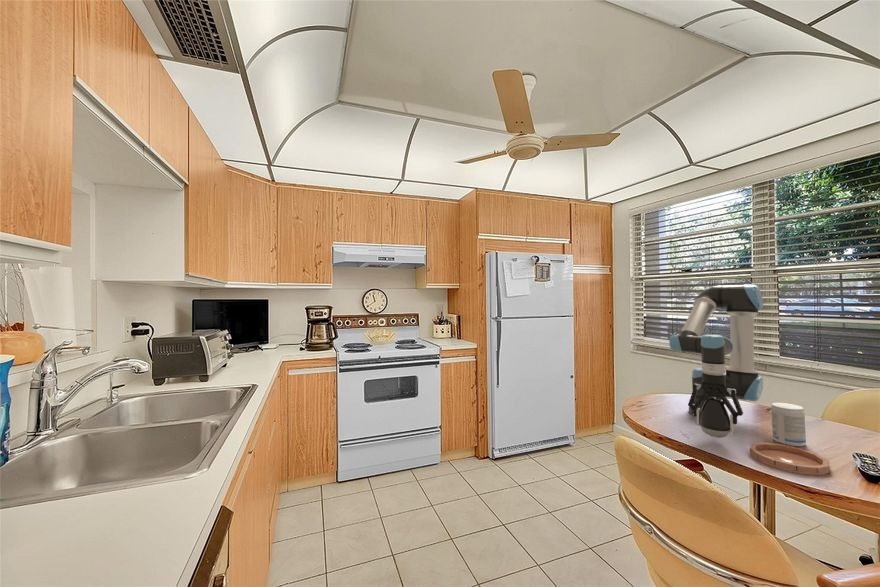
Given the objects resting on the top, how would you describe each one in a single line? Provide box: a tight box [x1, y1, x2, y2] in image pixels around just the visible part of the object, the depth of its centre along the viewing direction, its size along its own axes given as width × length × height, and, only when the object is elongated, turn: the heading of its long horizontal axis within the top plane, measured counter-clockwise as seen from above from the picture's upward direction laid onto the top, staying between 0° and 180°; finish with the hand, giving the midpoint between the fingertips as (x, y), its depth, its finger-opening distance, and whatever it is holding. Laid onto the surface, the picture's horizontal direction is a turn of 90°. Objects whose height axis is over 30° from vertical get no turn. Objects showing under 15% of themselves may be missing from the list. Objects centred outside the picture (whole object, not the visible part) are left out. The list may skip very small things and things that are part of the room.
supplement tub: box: [770, 402, 807, 447], centre depth 142 cm, size 10×10×15 cm
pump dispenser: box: [699, 397, 731, 438], centre depth 142 cm, size 10×10×15 cm
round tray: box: [749, 442, 831, 476], centre depth 126 cm, size 20×20×2 cm
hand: (715, 428), depth 142 cm, fingers closed on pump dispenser, 10 cm apart
